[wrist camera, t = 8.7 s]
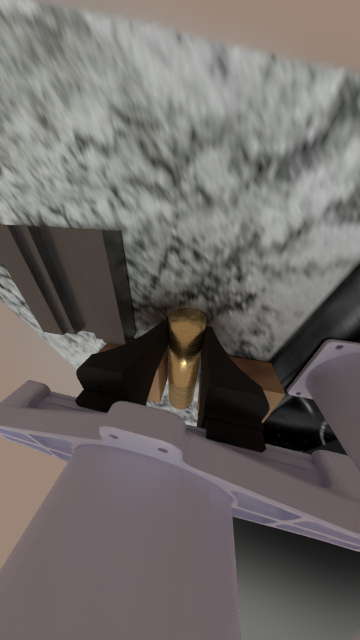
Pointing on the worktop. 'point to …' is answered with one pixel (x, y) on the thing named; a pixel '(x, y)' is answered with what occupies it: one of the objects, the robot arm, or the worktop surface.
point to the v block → (71, 279)
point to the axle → (184, 354)
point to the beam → (254, 369)
